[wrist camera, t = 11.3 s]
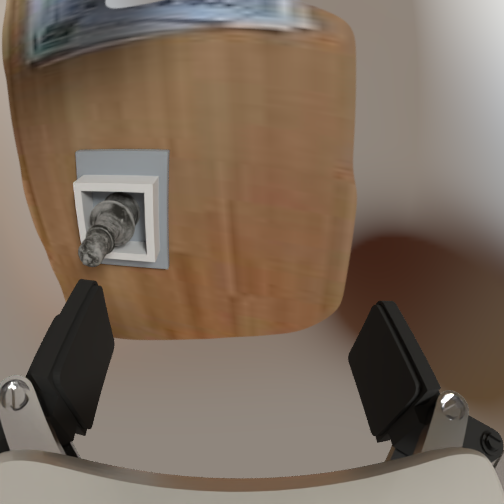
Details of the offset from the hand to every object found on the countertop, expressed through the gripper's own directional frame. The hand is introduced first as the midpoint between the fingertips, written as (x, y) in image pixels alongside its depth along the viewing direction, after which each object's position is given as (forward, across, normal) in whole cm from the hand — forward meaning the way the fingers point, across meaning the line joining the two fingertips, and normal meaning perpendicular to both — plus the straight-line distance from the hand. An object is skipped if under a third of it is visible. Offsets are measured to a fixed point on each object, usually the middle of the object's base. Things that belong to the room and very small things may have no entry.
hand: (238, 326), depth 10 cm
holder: (+28, +13, +9) cm, 32 cm away
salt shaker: (+27, +13, +9) cm, 32 cm away
